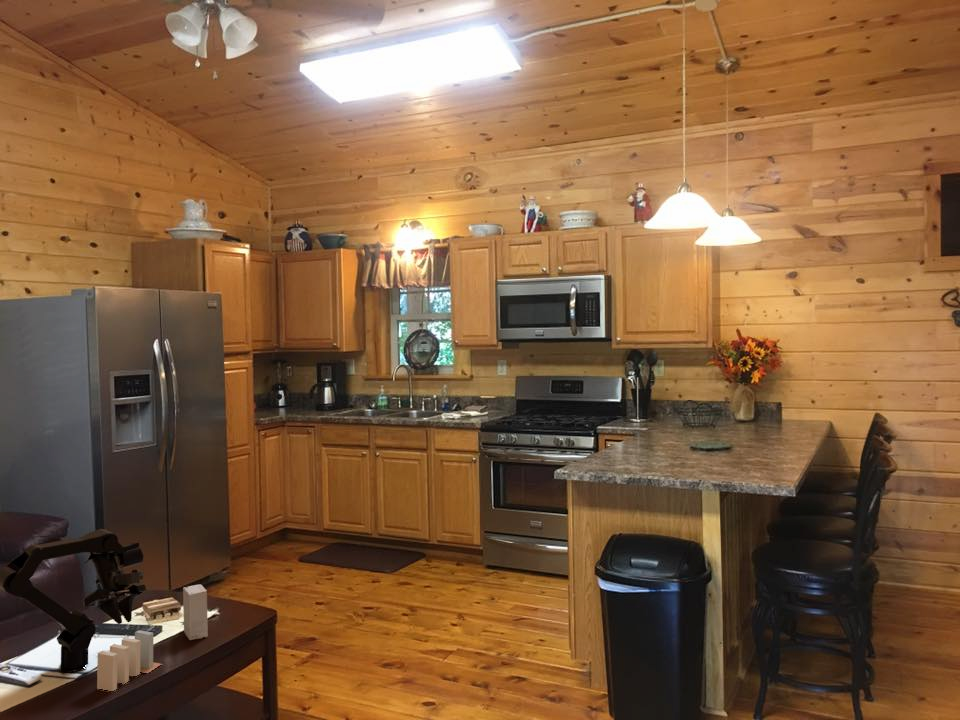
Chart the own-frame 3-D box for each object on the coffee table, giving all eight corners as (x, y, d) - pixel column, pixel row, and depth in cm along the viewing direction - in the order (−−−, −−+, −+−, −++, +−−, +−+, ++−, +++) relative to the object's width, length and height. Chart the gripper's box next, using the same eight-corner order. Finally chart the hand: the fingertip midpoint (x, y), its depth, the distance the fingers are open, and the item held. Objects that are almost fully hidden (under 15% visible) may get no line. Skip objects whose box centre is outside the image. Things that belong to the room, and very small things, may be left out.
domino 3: (136, 677, 213) (136, 642, 212) (121, 674, 214) (121, 639, 213) (140, 674, 214) (140, 640, 213) (125, 671, 215) (125, 637, 215)
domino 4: (149, 669, 217) (149, 634, 216) (134, 666, 218) (134, 632, 217) (153, 666, 218) (153, 632, 218) (138, 663, 220) (138, 630, 219)
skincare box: (208, 637, 240) (208, 591, 239) (188, 641, 236) (188, 594, 235) (201, 627, 247) (202, 582, 246) (182, 631, 243) (182, 586, 242)
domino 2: (124, 684, 208) (125, 649, 208) (109, 681, 210) (109, 646, 209) (128, 681, 210) (129, 646, 209) (113, 678, 211) (114, 643, 210)
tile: (121, 669, 217) (121, 668, 217) (136, 660, 222) (136, 659, 222) (147, 674, 214) (147, 673, 214) (162, 665, 220) (162, 663, 220)
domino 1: (112, 692, 204) (113, 656, 203) (97, 689, 205) (97, 653, 205) (116, 689, 205) (117, 653, 205) (101, 686, 207) (102, 650, 206)
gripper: (104, 561, 211) (122, 614, 206) (151, 557, 229) (168, 605, 224) (74, 580, 213) (91, 632, 208) (123, 574, 230) (140, 622, 226)
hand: (125, 622), depth 216 cm, fingers open, 3 cm apart
